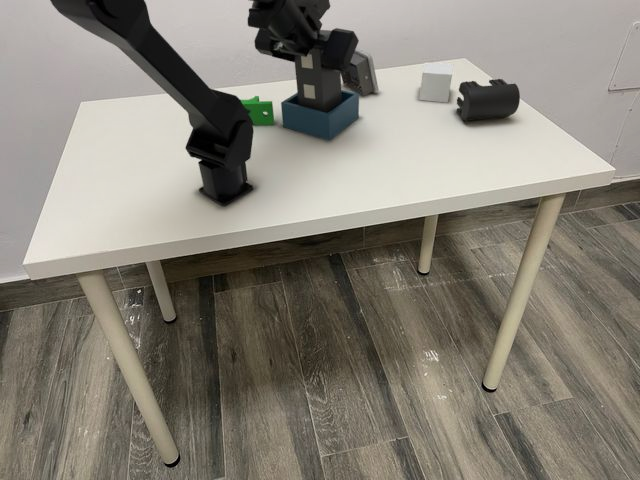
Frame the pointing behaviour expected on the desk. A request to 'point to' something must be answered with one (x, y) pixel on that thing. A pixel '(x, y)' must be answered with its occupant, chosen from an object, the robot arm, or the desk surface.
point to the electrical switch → (360, 74)
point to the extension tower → (317, 82)
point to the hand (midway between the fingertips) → (323, 66)
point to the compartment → (320, 116)
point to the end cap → (487, 100)
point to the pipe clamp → (259, 111)
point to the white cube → (436, 82)
